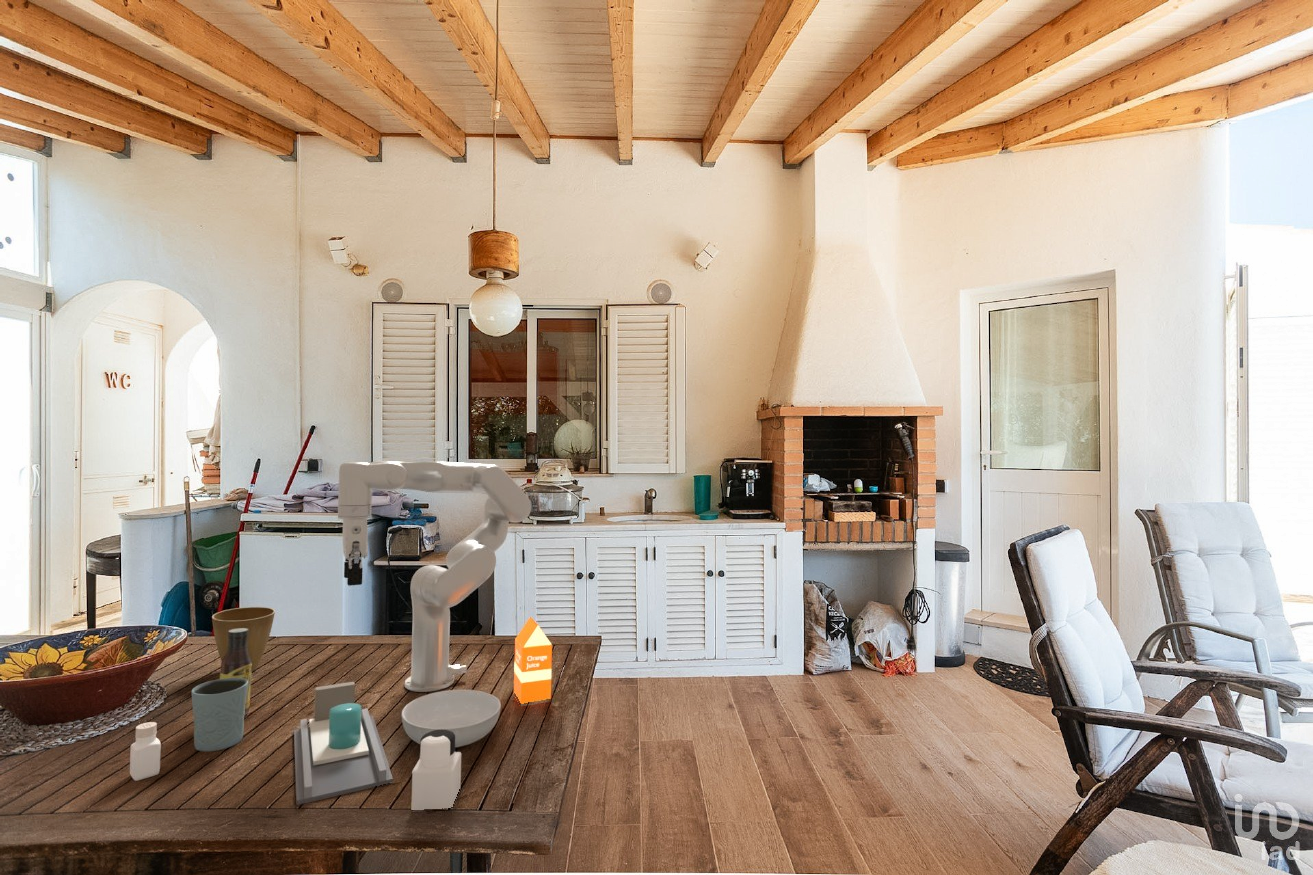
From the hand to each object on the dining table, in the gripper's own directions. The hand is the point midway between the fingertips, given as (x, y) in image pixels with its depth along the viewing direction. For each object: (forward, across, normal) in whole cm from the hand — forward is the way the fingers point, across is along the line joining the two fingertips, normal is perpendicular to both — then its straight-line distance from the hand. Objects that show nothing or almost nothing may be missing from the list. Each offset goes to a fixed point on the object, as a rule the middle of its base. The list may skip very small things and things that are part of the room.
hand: (352, 580), depth 158 cm
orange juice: (+31, -17, -41) cm, 54 cm away
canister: (+28, -26, +3) cm, 39 cm away
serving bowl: (+31, -30, -18) cm, 46 cm away
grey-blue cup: (+31, -9, +26) cm, 41 cm away
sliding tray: (+30, -21, +4) cm, 37 cm away
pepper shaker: (+31, -19, +37) cm, 52 cm away
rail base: (+30, -28, +4) cm, 41 cm away
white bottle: (+31, -54, -10) cm, 63 cm away
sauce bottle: (+31, +5, +24) cm, 39 cm away
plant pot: (+31, +39, +24) cm, 55 cm away
